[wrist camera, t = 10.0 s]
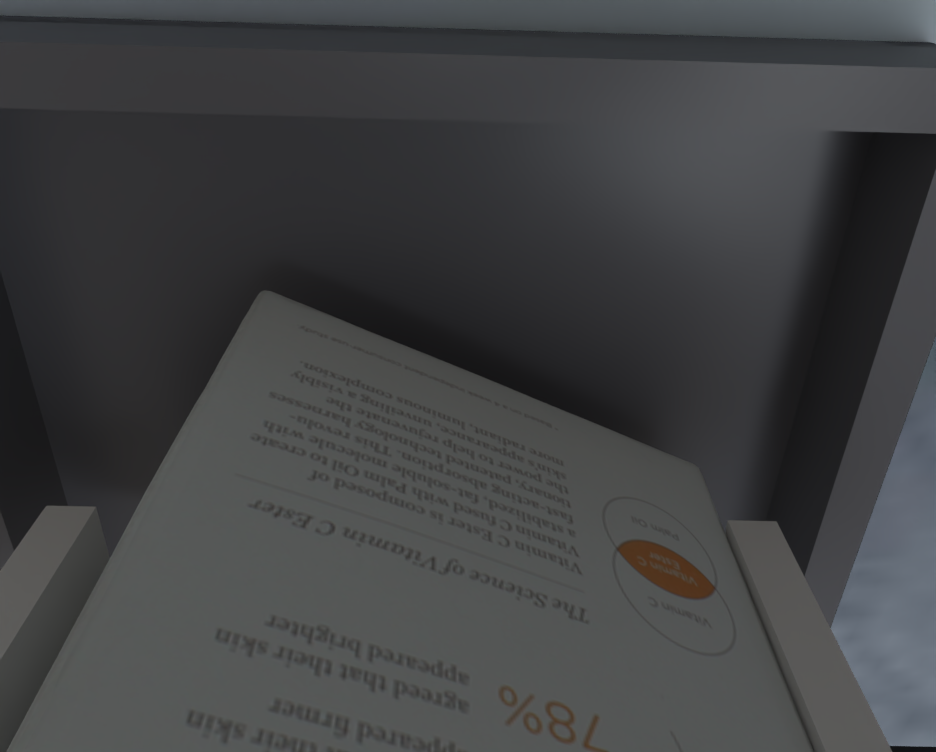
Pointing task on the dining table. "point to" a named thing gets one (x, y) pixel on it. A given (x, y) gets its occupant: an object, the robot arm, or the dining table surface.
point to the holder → (474, 241)
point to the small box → (409, 576)
